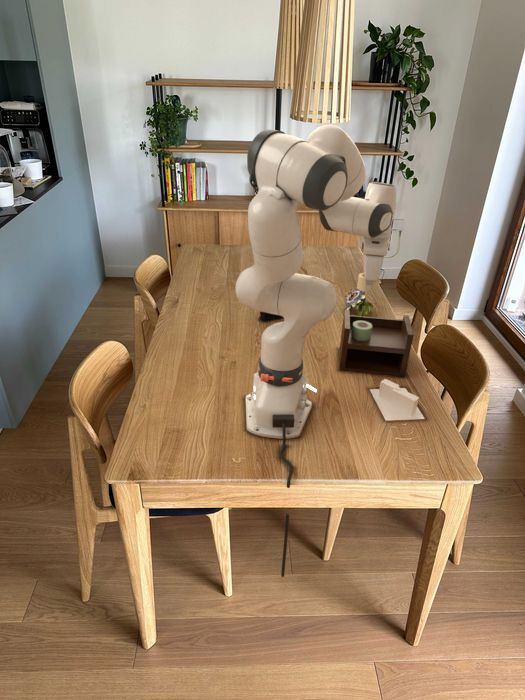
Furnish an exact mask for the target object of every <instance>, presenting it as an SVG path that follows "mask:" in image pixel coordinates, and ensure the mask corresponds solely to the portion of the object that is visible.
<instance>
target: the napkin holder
mask: <svg viewBox="0 0 525 700" xmlns="http://www.w3.org/2000/svg"><path fill="white" fill-rule="evenodd" d="M379 384H380V385H379V388H370V389H369V391H370V393H371V395H372V397H373V399H374V401H375V403H376V404H377V407H378V409H379V412H380V413H381V414H382V416H383V418H384V420H385V421H386V422H388V421H389V422H390V421H411V420H425V417H424V415H423V413H422V411H421V410H420V408H419V407H418V405H419V404H418V403H419V400H420V397H419V396H417V395H415V394H413V393H411V392H409V391H408V390H407V388H406V387H400V384H398V383H395V382H394V381H391V380H389V379H387V378H384V379H382V380H381V381H380V383H379Z"/></svg>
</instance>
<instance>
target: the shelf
mask: <svg viewBox="0 0 525 700" xmlns="http://www.w3.org/2000/svg"><path fill="white" fill-rule="evenodd" d="M355 321H367V322H369V323H371V324H372V332H371V338H370V339H369V340H366V341H360V340H356V339H354V338H353V337H352V336H351V333H352V326H353V323H354V322H355ZM414 335H415V334H414V330H413V327H412V323H411V320H410V315H403V317H402V319H397V318H396V319H395V318H383V317H373V316H365V317H364V315H363V316H362V315H361V316H358V315H353V314H352V315H351V310H346V309H344V312H343V319H342V327H341V335H340V341H339V351H338V353H339V355H338V356H339V357H338V371H340V372H350V373H358V374H369V375H378V376H388V377H398V378H399V377H400V378H405V377H406V374H407V369H408V365H409V359H410V354H411V350H412V345H413V340H414Z"/></svg>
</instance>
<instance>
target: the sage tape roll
mask: <svg viewBox="0 0 525 700" xmlns="http://www.w3.org/2000/svg"><path fill="white" fill-rule="evenodd" d="M371 332H372V324H371V323H369V322H367V321H355V322H354V323H353V326H352V333H351V336H352V337H353V338H354V339H356V340H360V341H366V340H369V339H370V338H371Z"/></svg>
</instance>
